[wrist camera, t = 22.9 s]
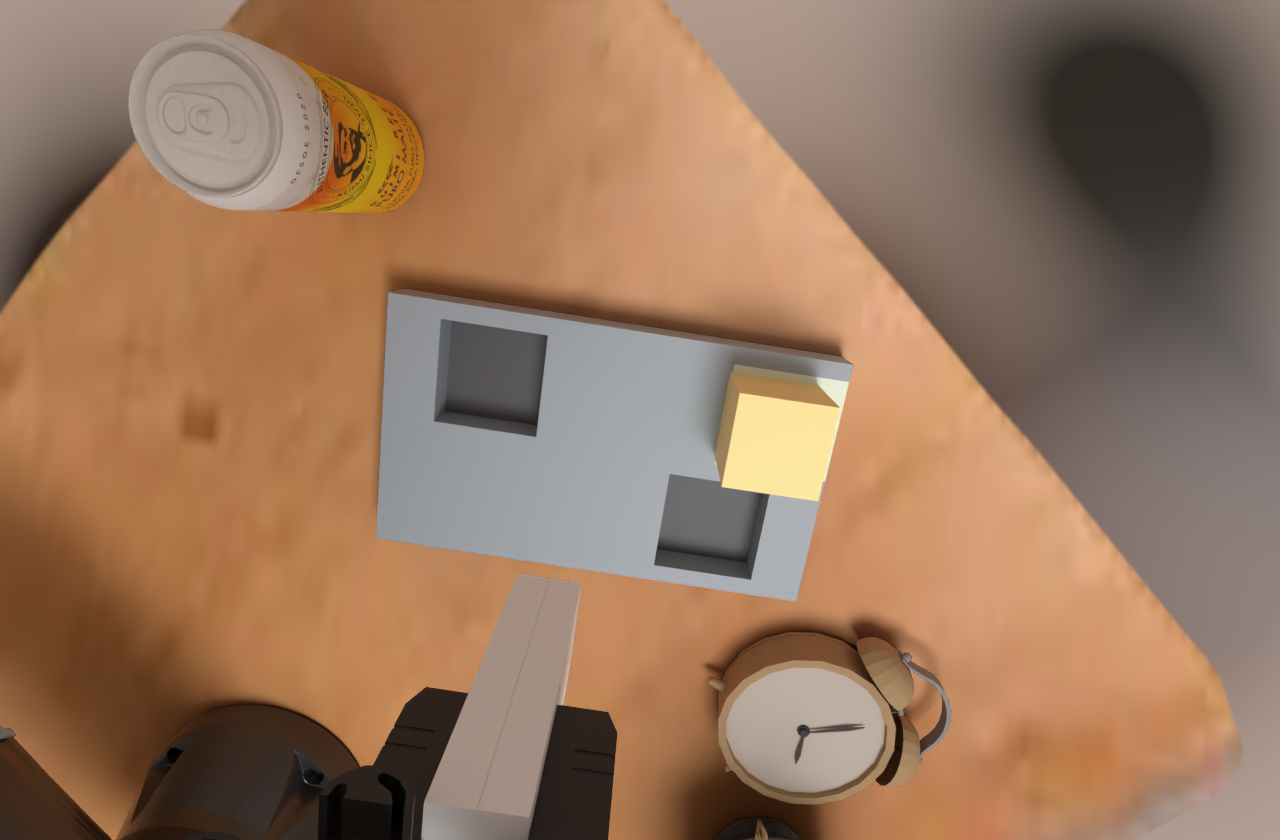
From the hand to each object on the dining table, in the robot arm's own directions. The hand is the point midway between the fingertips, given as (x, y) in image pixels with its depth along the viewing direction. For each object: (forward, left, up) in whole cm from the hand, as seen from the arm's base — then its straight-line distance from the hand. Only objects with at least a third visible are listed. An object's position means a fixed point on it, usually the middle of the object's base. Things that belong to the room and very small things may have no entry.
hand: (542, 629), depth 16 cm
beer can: (-15, +10, -27) cm, 32 cm away
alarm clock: (+17, -20, -27) cm, 37 cm away
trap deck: (0, -4, -26) cm, 27 cm away
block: (+9, 0, -24) cm, 26 cm away
